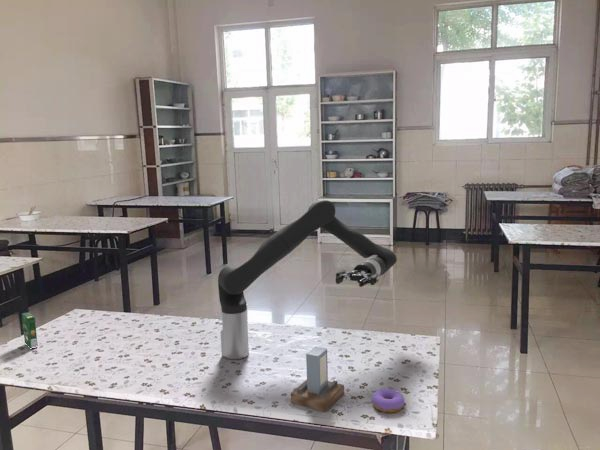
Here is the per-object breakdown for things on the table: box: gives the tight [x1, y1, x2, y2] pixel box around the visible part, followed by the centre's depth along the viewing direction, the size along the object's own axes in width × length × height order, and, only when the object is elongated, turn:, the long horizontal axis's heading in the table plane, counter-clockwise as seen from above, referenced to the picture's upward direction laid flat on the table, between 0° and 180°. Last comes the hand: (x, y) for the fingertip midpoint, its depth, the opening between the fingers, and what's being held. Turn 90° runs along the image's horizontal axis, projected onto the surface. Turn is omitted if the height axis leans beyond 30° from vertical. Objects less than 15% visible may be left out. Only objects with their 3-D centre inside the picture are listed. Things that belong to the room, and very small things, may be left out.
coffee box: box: [21, 312, 39, 349], centre depth 200 cm, size 8×3×13 cm, turn 44°
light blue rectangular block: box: [305, 346, 329, 394], centre depth 152 cm, size 4×6×12 cm
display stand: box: [290, 379, 345, 413], centre depth 153 cm, size 12×12×4 cm
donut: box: [371, 388, 405, 413], centre depth 148 cm, size 10×9×5 cm
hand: (348, 282), depth 170 cm, fingers open, 8 cm apart
